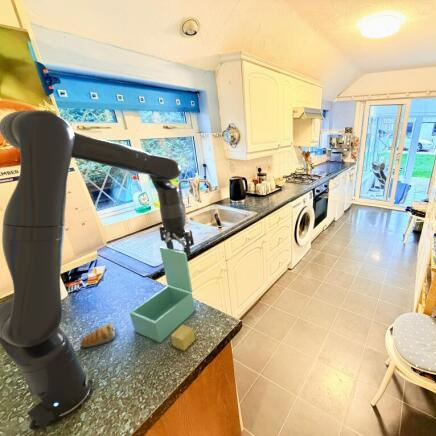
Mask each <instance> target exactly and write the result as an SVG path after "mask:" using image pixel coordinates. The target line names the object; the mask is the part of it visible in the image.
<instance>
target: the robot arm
mask: <svg viewBox="0 0 436 436" xmlns="http://www.w3.org/2000/svg"><path fill="white" fill-rule="evenodd" d="M0 135H1V136H2V138H3V139H4V140H5V141H6V142H7V143H8V144H9V145H10V146H11V147H13V148H15V149H16V150H18V151H19V154H20V157H19V159H20V160H19V161H20V167H19V168H20V170H19V177H18V180H17V183H16V185H15V187H14V189H13V192H12V193H11V196H10V198H9V199H8V201H7V204H6V207H5V209H4V214H3V219H2V233H1V238H2V239H1V242H2V243H1V244H2V252H3V256H4V259H5V262H6V265H7V268H8V271H9V274H10V278H11V280H12V286H13V297H12V298H11V299H8V300H7V301H4V303H2V304H1V305H0V346H1V347H2V349H3V350H4V352H5V353H6V355H7V356H8V358H9V359H10V360H11V361H12V363H14V365H15V366H16V367H17V369H18V371H19V372H20V374H21V375H22V377H23V379H24V380H25V382H26V384H27V385H28V388H27V390H28V392H29V394H30V395H31V397H32V398H33V400H34V402H35V403H36V405H35V406H34V407H32V408H31V409H30V410H28V411H27V416H28V417H29V418H30V420H31V423H30V425H29V428H30V430H31V431H35V430H38V429H43V428H45V427H46V426H47V425H48V424H49V423H50V422H54V423H55V422H57V421H58V420H59V419H61V418H63V417H65V416H68V415H69V414H71V413H73V412H74V411H76V410H78V408H80V407H81V406H82V405H83V403H85V401H86V400H87V399H88V398H89V396H90V394H91V391H92V385H91V382H90V381H89V373H88V372H86V373H85V371H84V368H83V367H82V364H81V362H80V360H79V358H78V356H77V354H76V351H75V350H74V349H75V348H74V347H73V345H72V343H71V340H70V338H69V337H68V335H67V333H66V332H65V331H64V330H63V329H62V328H61V327H60V325H61V323H62V318H63V304H62V292H61V270H62V263H63V262H62V261H63V248H64V239H65V225H66V205H67V204H66V203H67V183H68V176H69V171H70V168H71V167H70V166H71V162H72V159H78V160H83V161H88V162H92V163H95V164H99V165H102V166H103V165H104V166H107V167H111V168H114V169H119V170H121V171H127V172H131V173H134V174H140V175H141V174H142V175H149V178H150V180H151V183H152V184H153V187H154V188H155V190H156V193H157V199H158V202H159V203H158V204H159V213H160V218H161V224H162V226H160V227H159V228H158V229H159V235H160V240H161V242H164V244H166V248H169V249H173V250H175V248H174V243H173V240H175V241H177V242H178V244H181V245H182V247H183V248H182V249H183V250H184V253H186V256H187V257H188V256H191V253H192V252H191V247H193V246H194V245H195V243H194V242H195V241H194V237H193V231H192V230H186V229H185V225H186V219H185V213H184V206H183V203H182V197H181V192H180V189H179V187H178V186H176V185H175V184H173V182H172V181H173V180H177V179H178V178H179V177H180V176H181V173H182V166H181V165H180V164H179V162H178V161H176V160H175V159H173V158H169V157H167V156H162V155H157V154H152V153H149V152H146V151H144V150H141V149H138V148H135V147H132V146H129V145H125V144H122V143H117V142H112V141H109V140H103V139H99V138H95V137H91V136H87V135H84V134H81V133H78V132H75V131H73V129H72V127H71V125H70V124H69V123H68V122H67V121H66V120H65V119H64V118H63V117H61V115H58V114H57V113H54V112H51V111H47V110H41V109H39V110H37V109H33V110H31V109H30V110H17V111H13V112H10V113H8V114H6V115H5V116H4V117H2V119H1V120H0Z"/></svg>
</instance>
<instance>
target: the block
mask: <svg viewBox="0 0 436 436" xmlns="http://www.w3.org/2000/svg"><path fill="white" fill-rule="evenodd" d="M170 338H171V342H172V347H174V348H177V349H179V350H181V351H183V352H185V351H186V350H187V349H188V348H189V347H190V346H191V345H192V343H194V342H195V340H196V336H195V331H194V328H192V327H190V326H187V325H185V324H180V325H179V326H178V327H177V328H176V329H175V330H174V331H173V332H171V333H170Z"/></svg>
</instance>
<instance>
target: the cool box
mask: <svg viewBox="0 0 436 436" xmlns="http://www.w3.org/2000/svg"><path fill="white" fill-rule="evenodd" d="M195 311H196V308H195V303H194V297H193V292H191V293H190V292H187V291H184V290H181V289H178V288H176V287H173V286H170V285H167V286H165V287H164V288H162V289H161V290H160V291H158V292H157V293H155V294H154V295H152V296H151V297H149V298H148V299H147V300H145V301H144V302H142V303H141V304H139V305H138V306H137V307H135V308H134V309H132V310H130V312H129V316H130V320H131V322H132V326H133V329H134V332H136V333H138V334H140V335H142V336H144V337H147V338H148V339H151V340H153V341H155V342H158V343H161V342H163V341H164V340H165V339H166V338H167V337H168V336H169V335H171V334H172V333H173V332H174V331H175V330H177V329H178V328H179V327H180V326H181V325H182V323H184V322H185V321H186V320H187V319H188V318H189V317H190V316H191V315H192V314H193V313H195Z"/></svg>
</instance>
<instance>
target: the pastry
mask: <svg viewBox="0 0 436 436" xmlns="http://www.w3.org/2000/svg"><path fill="white" fill-rule="evenodd" d="M115 330H116V329H115V326H114V325H113V324H112V323H109V324H106V325H103V326H100V327H98V328H97V329H95V330H93V331H92V332H90V333H88V334H87V335H85V336H84V337H82V339H81V341H80V346H82V347H84V348H90V347H95V346H98V345H99V346H100V345H102V344H105V343H107V342H110V341H112V340H114V339H115V337H116V332H115Z"/></svg>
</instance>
